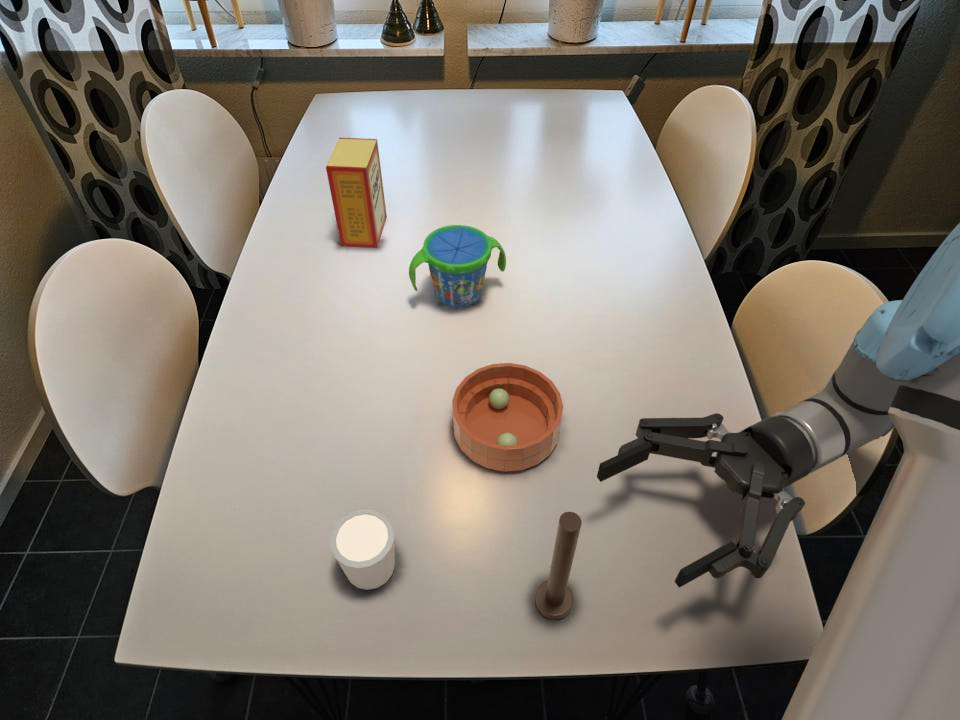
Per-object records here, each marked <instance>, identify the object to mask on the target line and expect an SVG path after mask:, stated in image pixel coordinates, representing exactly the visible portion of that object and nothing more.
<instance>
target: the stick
mask: <svg viewBox="0 0 960 720" xmlns="http://www.w3.org/2000/svg"><path fill="white" fill-rule="evenodd" d="M582 523H583V521H582V519H581V516H580V515H579V514H578V513H576V512H574V511H565V512H563V513H562V514H561V515H560V517H559V519H558V525H557V529H556V530H557V531H556V536H555V542H554V546H553V547H554V548H553V551H552V557H551V558H552V559H551V564H550V569H549V573H548V574H549V575H548V580H546V581H544V582H542V583H541V584H540V586H539V587H538V589H537V590H536V596H535V605H536V608H537V610H538V611H539V613H540V614H541V615H542V616H543V617H545V618H547V619H549V620H554V621H556V620H562V619H563V618H566V616H568V615H569V613H570V612H571V610H572V607H573V604H574V595H573V592H572V590H571V589H570V587H569V586H568V584H569V579H570V575H571V571H572V567H573V562H574V558H575V554H576V549H577V545H578V540H579V538H580V537H579V536H580V532H581V528H582Z"/></svg>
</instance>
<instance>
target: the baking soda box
mask: <svg viewBox="0 0 960 720" xmlns="http://www.w3.org/2000/svg"><path fill="white" fill-rule="evenodd" d="M378 144H379V143H378V139H377V138H359V137H357V138H355V137H338V139H337V141H336V143H335V146H334V148H333V150H332V152H331V154H330V157H329V159H328V161H327V164H326V166H325V171H326V175H327V180H328V181H327V182H328V186H329V191H330V196H331V201H332V204H333V205H332V207H333V211H334V216H335V222H336V227H337V231H338V237H339V242H340V246H341V247H350V248H351V247H352V248H373V249H374V248H375V249H379V248H378V247H379V244H380V241H381V237H382V234H383V230H384V228H385V224H386V220H387V218H388V217H387V208H386V207H387V206H386V199H385V192H384V183H383V176H382V167H381V160H380V152H379V145H378Z"/></svg>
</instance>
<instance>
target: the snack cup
mask: <svg viewBox="0 0 960 720" xmlns="http://www.w3.org/2000/svg"><path fill="white" fill-rule="evenodd" d="M494 248H496V249H498V251H499V254H498V258H497V268H498V269H499V271H500V272H505V270H506V267H507V266H506V265H507V258H506V257H507V256H506V252H505V250H504V247H503V246H502V244H501V243H500V242H499V241H498V240H497V239H496V238H494V237H493V236H491V235H490V236H489V235H487V234H486V233H485V232H484V231H482V230H481V229H479V228H477V227H473V226H470V225H465V224H464V225H463V224H451V225H445V226H441V227H439V228H436V229H435V230H433V231H432V232H430V233H429V234H427V236H426V237H425V238H424V241H423V244H422V248H421V249H420V250H418V251H417V252H416V253H415V255H414V256H413V257H412V259H411V261H410V263H409V268H408V277H409V280H410V283H411V285H412V287H413V290H414V291H415V292H418V287H417V284H416V283H417V282H416V275H417V274H416V269H417V268H418V267H419V266H420V265H422V264H423V263H427V264H428V265H427V266H428V270H429V274H430V278H431V282H432V286H433V289H434V293H435V298H436V299H437V300H438V301H440V302H441V303H442V304H444V305H445V306H447V307H451V308H452V309H458V308H466V307H468V306H470V305H472V304H476V303H477V302H478V300H479V298H480V297H481V295H482V293H483V287H484V283H485V279H486V272H487V267H488V266H487V265H488V262H489V261H490V258H491V255H492V250H493V249H494Z"/></svg>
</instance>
